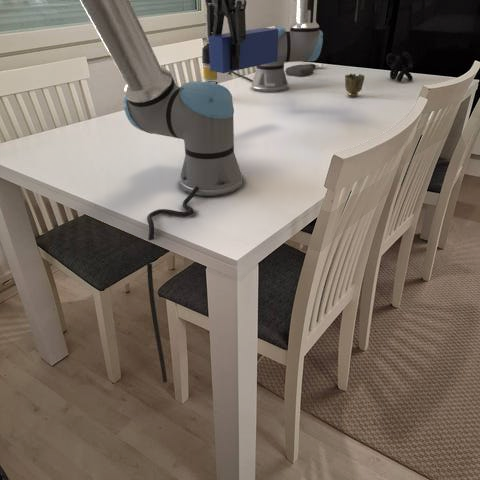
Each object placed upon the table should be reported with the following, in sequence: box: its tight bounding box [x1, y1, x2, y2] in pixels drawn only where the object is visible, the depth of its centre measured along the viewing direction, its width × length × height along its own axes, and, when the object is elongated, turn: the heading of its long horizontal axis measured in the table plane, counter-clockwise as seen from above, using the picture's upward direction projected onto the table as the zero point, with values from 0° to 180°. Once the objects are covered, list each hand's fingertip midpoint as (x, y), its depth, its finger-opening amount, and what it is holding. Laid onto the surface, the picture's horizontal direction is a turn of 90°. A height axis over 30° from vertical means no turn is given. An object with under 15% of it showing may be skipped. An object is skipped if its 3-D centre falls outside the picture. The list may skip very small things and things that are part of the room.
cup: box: [344, 73, 365, 98], centre depth 176 cm, size 8×7×8 cm
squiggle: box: [385, 51, 414, 83], centre depth 198 cm, size 11×10×15 cm
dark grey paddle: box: [284, 62, 327, 77], centre depth 219 cm, size 3×11×24 cm
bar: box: [208, 27, 278, 74], centre depth 129 cm, size 23×6×9 cm, turn 135°
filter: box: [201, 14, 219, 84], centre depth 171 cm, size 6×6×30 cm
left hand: (227, 67), depth 126 cm, fingers closed on bar, 5 cm apart
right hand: (333, 22), depth 135 cm, fingers open, 13 cm apart
